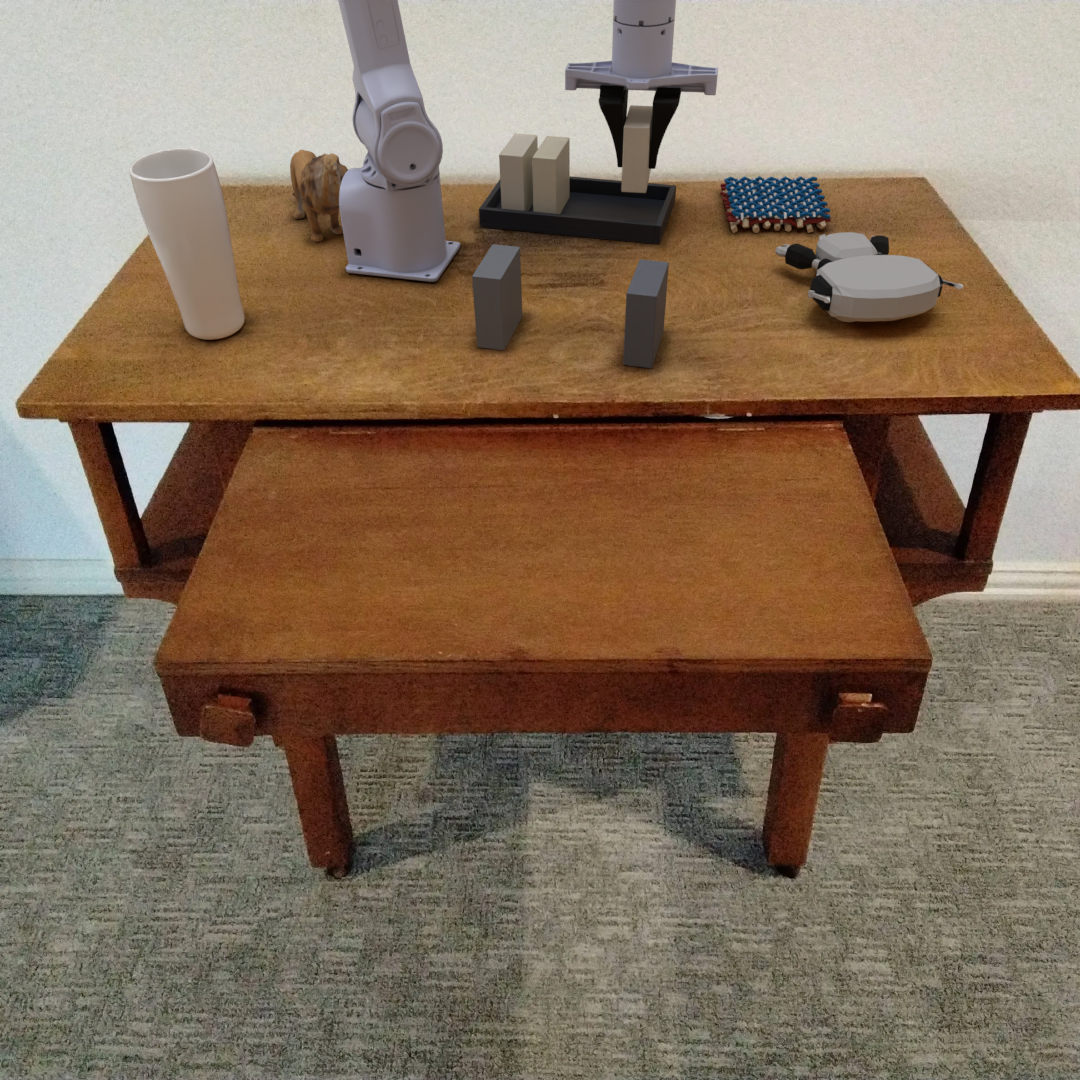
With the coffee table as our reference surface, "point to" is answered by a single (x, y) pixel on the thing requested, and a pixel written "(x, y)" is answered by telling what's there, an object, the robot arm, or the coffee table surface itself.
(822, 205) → the woven mat
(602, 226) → the tray
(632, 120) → the cream rectangular block
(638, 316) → the grey books
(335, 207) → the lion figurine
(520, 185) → the cream books on tray
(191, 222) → the drinking glass
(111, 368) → the coffee table surface
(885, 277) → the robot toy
